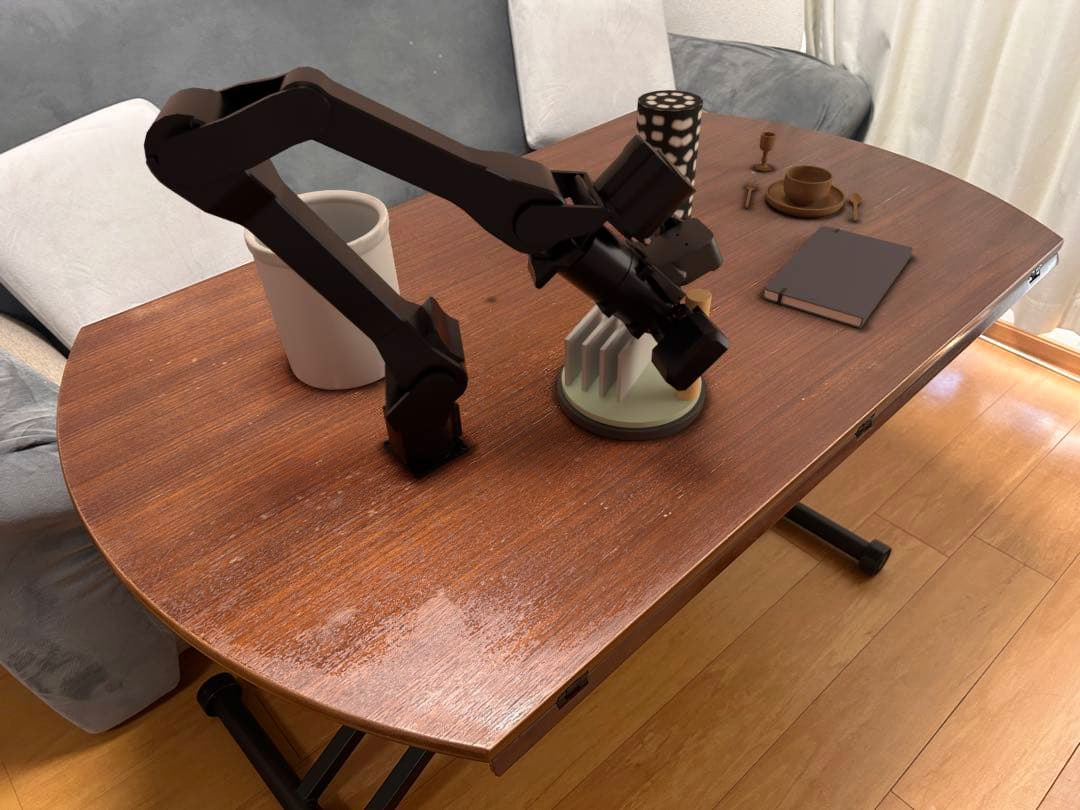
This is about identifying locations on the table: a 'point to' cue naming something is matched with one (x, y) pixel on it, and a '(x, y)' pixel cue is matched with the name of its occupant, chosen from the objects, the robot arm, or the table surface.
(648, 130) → the white-spotted black cylinder
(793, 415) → the table surface
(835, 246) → the notebook
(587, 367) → the dish rack
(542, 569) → the table surface
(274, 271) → the utensil holder
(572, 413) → the turntable base
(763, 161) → the place setting
